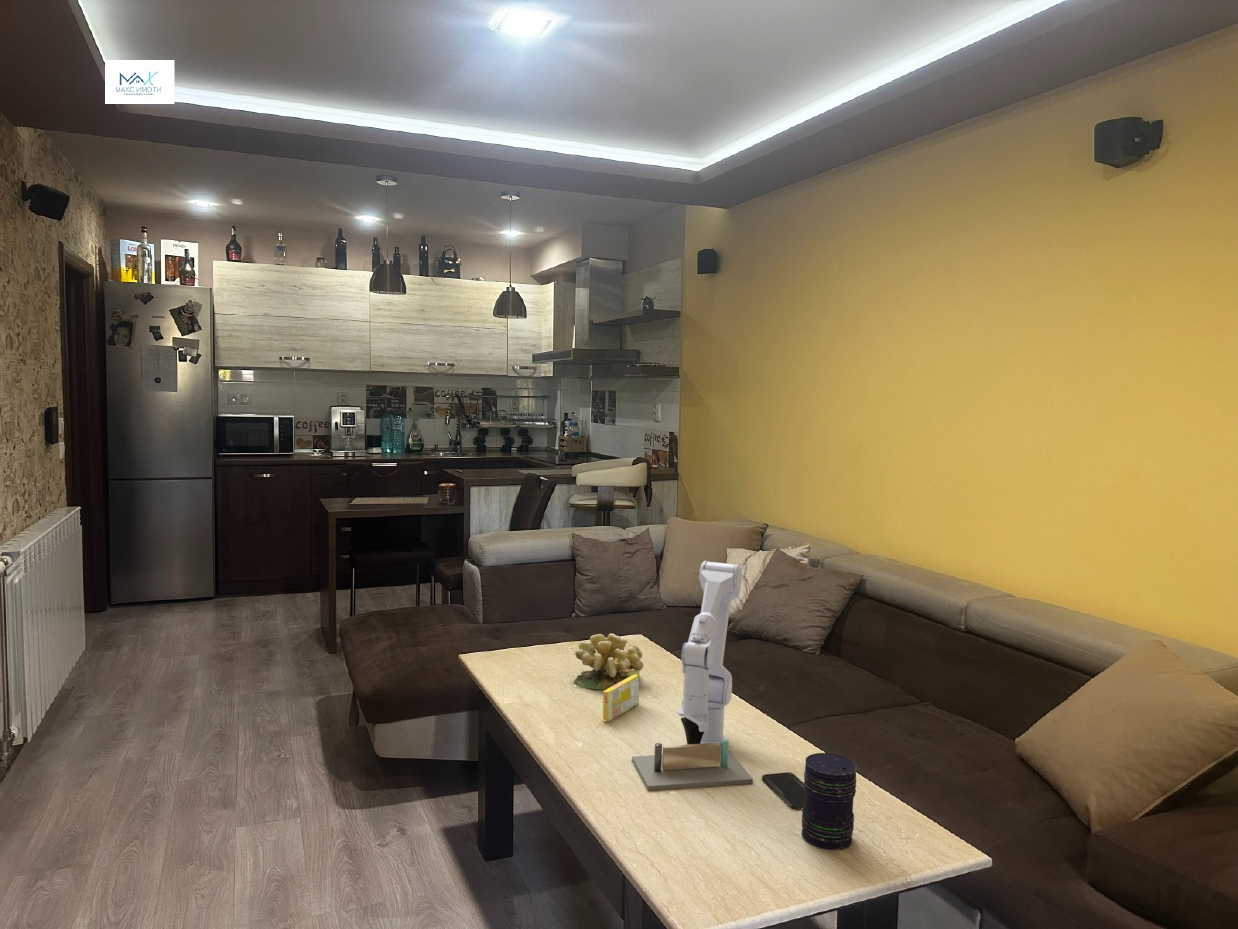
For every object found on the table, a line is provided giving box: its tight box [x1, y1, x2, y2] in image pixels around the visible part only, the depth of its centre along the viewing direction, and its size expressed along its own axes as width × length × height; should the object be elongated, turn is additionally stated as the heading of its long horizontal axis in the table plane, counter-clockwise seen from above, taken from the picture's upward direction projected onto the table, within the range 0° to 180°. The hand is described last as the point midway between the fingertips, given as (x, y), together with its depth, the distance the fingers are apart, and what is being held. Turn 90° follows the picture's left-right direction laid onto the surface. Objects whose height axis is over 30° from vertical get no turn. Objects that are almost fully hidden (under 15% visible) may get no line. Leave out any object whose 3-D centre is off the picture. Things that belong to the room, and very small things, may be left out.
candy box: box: [602, 674, 640, 722], centre depth 225 cm, size 16×2×8 cm, turn 149°
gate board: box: [631, 750, 754, 791], centre depth 191 cm, size 15×24×1 cm, turn 102°
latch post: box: [720, 739, 729, 768], centre depth 192 cm, size 2×2×7 cm
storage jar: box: [801, 752, 857, 852], centre depth 164 cm, size 10×10×15 cm
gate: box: [662, 743, 721, 770], centre depth 190 cm, size 1×13×5 cm, turn 102°
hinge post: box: [654, 742, 663, 772], centre depth 188 cm, size 2×2×7 cm
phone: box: [761, 772, 805, 811], centre depth 183 cm, size 8×1×15 cm
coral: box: [573, 633, 644, 691], centre depth 250 cm, size 19×23×15 cm
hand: (693, 749), depth 196 cm, fingers closed
